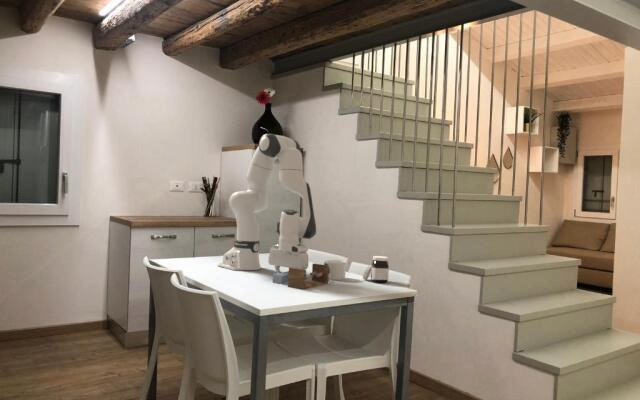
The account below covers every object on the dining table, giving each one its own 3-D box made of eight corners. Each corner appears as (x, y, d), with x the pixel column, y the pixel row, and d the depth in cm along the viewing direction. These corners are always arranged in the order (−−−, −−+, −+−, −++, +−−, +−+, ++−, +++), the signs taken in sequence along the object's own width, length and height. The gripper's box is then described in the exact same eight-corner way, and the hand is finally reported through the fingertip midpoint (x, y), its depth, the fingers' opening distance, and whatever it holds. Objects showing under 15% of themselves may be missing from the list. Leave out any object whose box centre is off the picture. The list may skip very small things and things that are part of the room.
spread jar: (389, 284, 239) (390, 258, 239) (365, 283, 239) (366, 257, 238) (384, 279, 251) (385, 255, 251) (361, 278, 251) (362, 254, 250)
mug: (350, 279, 247) (350, 262, 247) (331, 280, 241) (332, 263, 241) (333, 274, 258) (334, 258, 258) (315, 275, 252) (316, 259, 252)
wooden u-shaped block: (303, 289, 218) (304, 270, 218) (288, 286, 223) (288, 267, 222) (328, 283, 234) (329, 265, 234) (313, 280, 238) (314, 263, 238)
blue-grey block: (281, 284, 228) (281, 275, 228) (272, 283, 231) (272, 274, 230) (300, 280, 239) (300, 272, 239) (291, 279, 242) (292, 270, 242)
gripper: (266, 244, 238) (264, 274, 238) (302, 249, 226) (301, 281, 227) (274, 243, 243) (273, 273, 243) (311, 248, 232) (309, 279, 232)
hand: (287, 277), depth 235 cm, fingers open, 8 cm apart
